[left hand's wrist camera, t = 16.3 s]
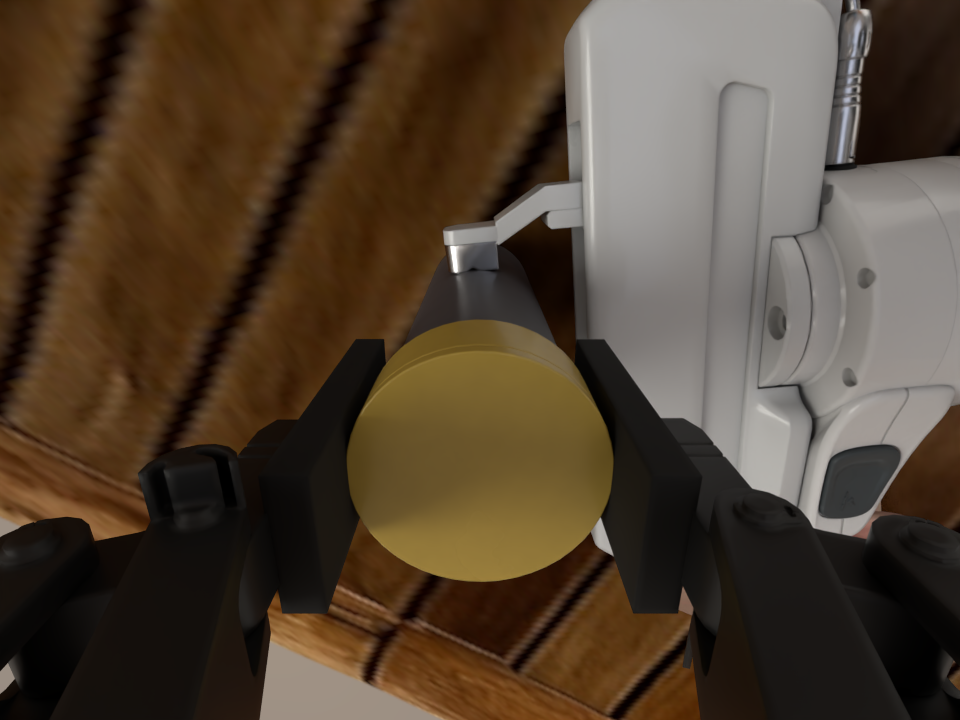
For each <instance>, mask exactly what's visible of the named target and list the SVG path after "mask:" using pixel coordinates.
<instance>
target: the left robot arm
mask: <svg viewBox="0 0 960 720" xmlns="http://www.w3.org/2000/svg"><path fill="white" fill-rule="evenodd" d="M385 365H386V361H385V347H384V339H356V340H355V341H354V343H353V344H352V346H351V347H350V348H349V350H348V351H347V353H346V354H345V355H344V357H343V358H342V360H341V361H340V362H339V364H338V365H337V367H336V368H335V369H334V371H333V372H332V373H331V375H330V376H329V378H328V379H327V380H326V382H325V383H324V385H323V386H322V387H321V389H320V390H319V392H318V393H317V394H316V396H315V397H314V399H313V400H312V401H311V403H310V404H309V406H308V407H307V408H306V410H305V411H304V413H303V414H302V415H301V417H300V418H299V420H276V421H274V422H273V423H271V424H269V425H268V426H266V427H264V428H263V429H261V430H259V431H258V432H257V433H256V435H255V436H254V437H253V438H252V439H251V441H250V442H249V443H248V444H247V447H245V448H244V449H243V450H242V451H241V452H240V454H239V455H238V458H237V453H236V452H235V451H234V450H232V449H231V448H230V447H227V446H222V445H217V444H206V445H195V446H190V447H185V448H181V449H178V450H175V451H172V452H170V453H167V454H164V455H162V456H160V457H158V458H157V459H155V460H153V461H151V462H150V463H148V464H147V465H146V466H145V467H144V468H143V469H142V470H141V471H140V472H139V473H138V476H139V480H140V483H141V487H142V491H143V494H144V498H145V501H146V505H147V509H148V512H149V516H150V520H151V522H150V524H149V525H148V527H147V529H146V531H142V532H138V533H134V534H129V535H124V536H119V537H114V538H109V539H104V540H99V541H94V538H93V535H92V532H91V529H90V526H89V524H88V523H86V522H85V521H84V520H82V519H80V518H72V517H61V518H53V519H44V520H40V521H37V522H36V523H34V522H32V523H29V524H26V525H23V526H21V527H20V528H18V529H16V530H14V531H12V532H10V533H7V534H5V535H3V536H1V537H0V671H1V670H2V669H3V668H4V667H5V665H6V664H7V663H8V664H9V666H10V668H11V671H12V673H13V675H14V677H15V680H14V681H13V682H12V683H11V684H10V685H9V686H8V687H7V689H6V690H4V691H3V692H2V693H1V694H0V720H259V719H260V711H261V704H262V696H263V689H264V681H265V673H266V665H267V658H268V650H269V643H270V635H271V631H270V624H269V618H268V613H267V610H268V608H269V606H270V604H271V602H272V599H273V597H274V595H275V593H276V591H277V589H278V592H279V597H280V603H281V608H282V613H327V612H328V609H329V606H330V603H331V600H332V597H333V594H334V591H335V588H336V586H337V583H338V580H339V577H340V574H341V571H342V568H343V565H344V562H345V559H346V556H347V553H348V550H349V548H350V545H351V542H352V539H353V536H354V533H355V530H356V527H357V524H358V521H359V518H360V516H359V515H358V513H357V511H356V509H355V507H354V504H353V501H352V499H351V496H350V489H349V480H348V471H347V460H346V454H347V447H348V443H349V439H350V435H351V432H352V430H353V427H354V425H355V422H356V420H357V418H358V416H359V414H360V412H361V410H362V408H363V406H364V404H365V402H366V399H367V397H368V395H369V393H370V391H371V389H372V387H373V385H374V383H375V381H376V379H377V377H378V376H379V374H380V372H381V371H382V369H383V367H384V366H385ZM575 366H576V367H577V369H578V370H579V372H580V373H581V375H582V377H583V379H584V381H585V383H586V385H587V387H588V389H589V391H590V393H591V395H592V397H593V399H594V401H595V404H596V406H597V408H598V410H599V412H600V414H601V416H602V418H603V420H604V422H605V424H606V426H607V429H608V432H609V435H610V438H611V441H612V447H613V453H614V465H613V476H612V485H611V493H610V496H609V500H608V503H607V505H606V507H605V509H604V511H603V513H602V516H601V520H602V523H603V526H604V529H605V532H606V535H607V538H608V541H609V543H610V546H611V549H612V552H613V555H614V558H615V561H616V564H617V567H618V570H619V573H620V576H621V579H622V581H623V584H624V587H625V590H626V593H627V596H628V599H629V602H630V605H631V608H632V611H633V613H678V610H679V605H680V599H681V594H682V588H684V590H685V592H686V594H687V596H688V598H689V600H690V602H691V604H692V606H693V613H692V618H691V623H690V629H689V634H688V639H687V644H686V649H685V654H684V661H683V667H684V668H689V669H690V666H691V661H692V657H693V664H694V672H695V680H696V687H697V695H698V702H699V710H700V718H701V720H960V691H959V690H958V689H957V688H956V687H955V686H954V685H953V684H952V683H951V681H950V680H949V679H948V678H947V677H946V676H947V674H948V672H949V670H950V667H951V665H952V663H953V661H955V662H956V663H957V664H958V665H959V666H960V534H959V533H957V532H955V531H953V530H951V529H948V528H946V527H944V526H942V525H941V524H939V523H936V522H933V521H930V520H925V519H923V518H919V517H913V516H912V517H911V516H903V515H895V514H894V515H887V516H880V517H878V518H877V519H876V520H874V521H873V522H872V524H871V527H870V530H869V533H868V536H867V539H864V538H859V537H854V536H849V535H844V534H838V533H833V532H828V531H823V530H820V529H816V528H813V526H812V525H811V523H810V521H809V519H808V518H807V517H806V516H805V514H804V513H803V512H802V511H801V510H800V509H799V508H798V507H796V506H795V505H793V504H792V503H790V502H789V501H787V500H786V499H783V498H781V497H778V496H776V495H774V494H771V493H769V492H765V491H761V490H756V489H752V488H751V486H750V485H749V484H748V483H747V482H746V481H745V479H744V478H743V477H742V476H741V475H740V473H739V472H738V471H737V470H736V469H735V468H734V466H733V465H732V464H731V463H730V462H729V460H728V459H727V458H726V457H723V453H722V452H721V451H720V450H719V449H718V447H717V446H716V445H714V443H713V441H712V440H711V439H710V438H709V437H708V436H707V434H706V433H705V432H704V431H703V430H702V429H701V428H699V427H697V426H696V425H694V424H692V423H691V422H689V421H687V420H686V419H684V418H660V416H659V415H658V413H657V412H656V411H655V409H654V408H653V406H652V405H651V404H650V402H649V401H648V399H647V398H646V397H645V395H644V394H643V392H642V391H641V390H640V388H639V387H638V385H637V384H636V383H635V381H634V380H633V378H632V377H631V376H630V374H629V373H628V372H627V370H626V369H625V367H624V366H623V365H622V363H621V362H620V360H619V359H618V358H617V356H616V355H615V353H614V352H613V351H612V349H611V348H610V346H609V345H608V344H607V342H606V341H605V339H576V352H575Z"/></svg>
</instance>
